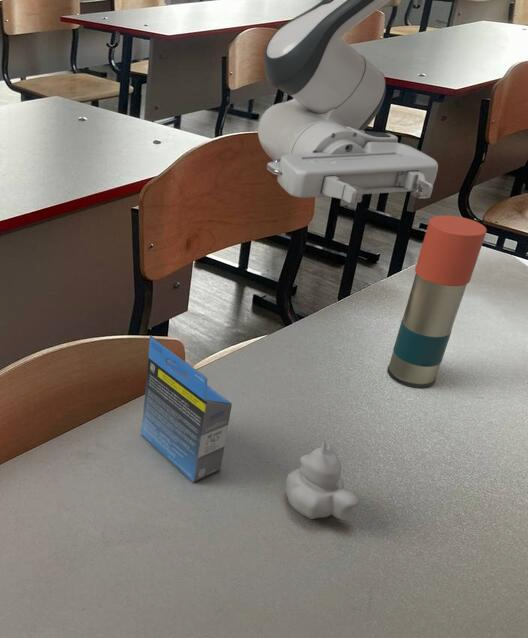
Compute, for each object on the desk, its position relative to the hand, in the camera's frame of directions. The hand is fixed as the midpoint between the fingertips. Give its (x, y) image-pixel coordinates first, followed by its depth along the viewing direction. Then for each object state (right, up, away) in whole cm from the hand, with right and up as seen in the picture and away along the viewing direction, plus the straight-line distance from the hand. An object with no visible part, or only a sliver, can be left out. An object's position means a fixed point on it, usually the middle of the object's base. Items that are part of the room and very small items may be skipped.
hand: (392, 194), depth 91 cm
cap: (+2, -10, -7) cm, 13 cm away
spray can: (+2, -22, 0) cm, 22 cm away
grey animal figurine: (-16, -33, -21) cm, 42 cm away
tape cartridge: (-28, -29, -13) cm, 42 cm away
